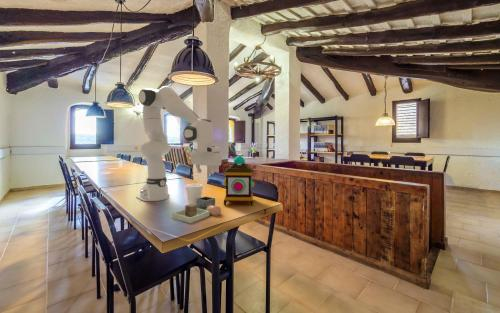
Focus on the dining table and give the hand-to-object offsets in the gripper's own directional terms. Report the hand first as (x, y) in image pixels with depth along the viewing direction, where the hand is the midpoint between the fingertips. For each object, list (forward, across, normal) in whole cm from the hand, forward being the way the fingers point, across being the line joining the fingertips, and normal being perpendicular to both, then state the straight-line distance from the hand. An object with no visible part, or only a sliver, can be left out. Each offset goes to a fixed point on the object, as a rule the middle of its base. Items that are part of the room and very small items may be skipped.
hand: (205, 173), depth 132 cm
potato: (+21, +8, -3) cm, 23 cm away
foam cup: (+21, -11, +2) cm, 24 cm away
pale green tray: (+21, +2, -13) cm, 25 cm away
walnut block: (+21, +2, -13) cm, 24 cm away
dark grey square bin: (+21, 0, 0) cm, 21 cm away
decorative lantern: (+22, +5, +25) cm, 33 cm away
